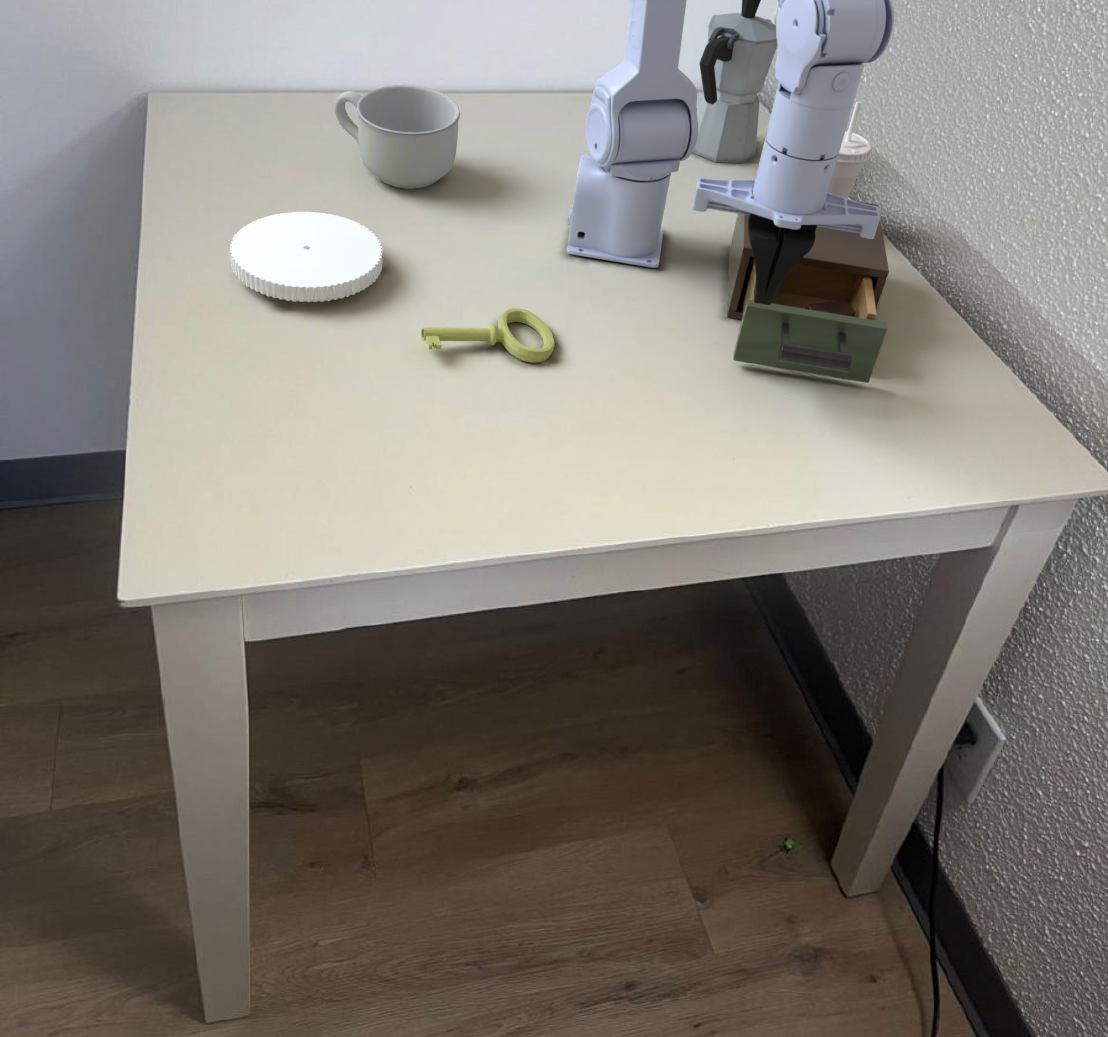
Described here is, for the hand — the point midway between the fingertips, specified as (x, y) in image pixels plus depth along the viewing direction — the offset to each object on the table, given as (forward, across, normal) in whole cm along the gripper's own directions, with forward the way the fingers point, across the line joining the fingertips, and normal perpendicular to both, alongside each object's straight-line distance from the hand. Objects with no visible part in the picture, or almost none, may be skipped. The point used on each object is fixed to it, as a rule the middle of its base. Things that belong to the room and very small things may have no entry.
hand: (761, 298), depth 98 cm
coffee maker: (+10, -4, +50) cm, 51 cm away
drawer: (+8, +5, +7) cm, 12 cm away
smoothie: (+10, +8, +34) cm, 37 cm away
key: (+10, -22, 0) cm, 24 cm away
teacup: (+10, -38, +30) cm, 50 cm away
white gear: (+10, -42, +8) cm, 43 cm away
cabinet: (+9, +6, +18) cm, 21 cm away
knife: (+7, +6, +8) cm, 12 cm away
